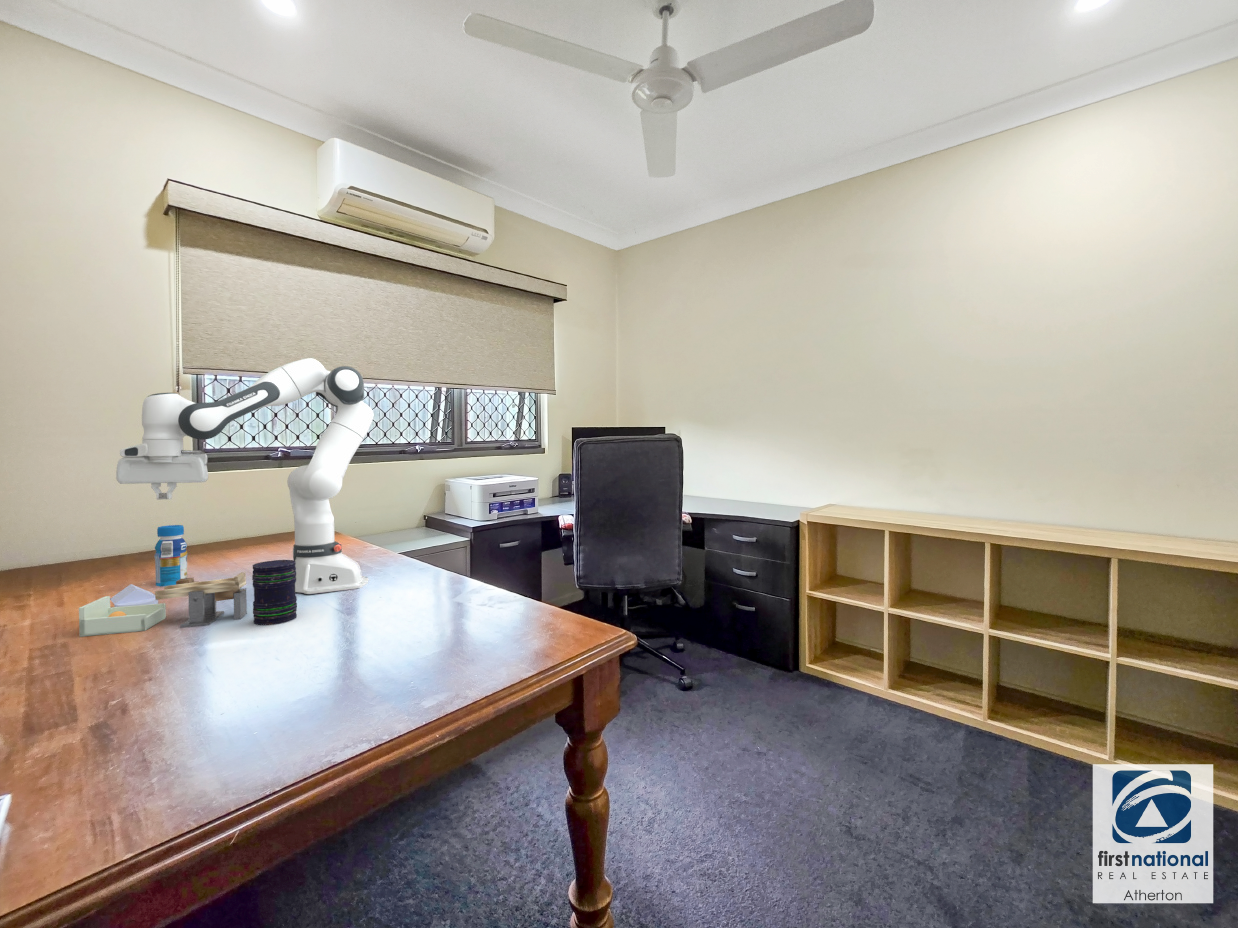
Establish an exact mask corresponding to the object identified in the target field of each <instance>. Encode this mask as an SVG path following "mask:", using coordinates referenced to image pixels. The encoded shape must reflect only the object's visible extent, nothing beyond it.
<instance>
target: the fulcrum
mask: <svg viewBox="0 0 1238 928" xmlns="http://www.w3.org/2000/svg"><path fill="white" fill-rule="evenodd" d="M247 595H248V594H247V588H240V589H239V590H238V591H236V592H235V593H234V599H233V620H234V621H235V620H241V619H243V618H244V617H245V616H246V615H247V614H248V610H247V609H248V607H247V606H248V605H247V604H248V603H247V601H248V600H247ZM187 597H188V619H187V620H186V621H184V622H182V624H180V625H179V626H180V628H181V629H182V628H191V627H201V626H203V627H204V626H210V625H211V624H212V623H213V622H214V621H216V620H217V619H219V618H220V617H222V615H224V614H225V610H220V611H219V610H218V611H217V601H215V593H207V594H204V590H202V591H190V592H188V596H187Z"/></svg>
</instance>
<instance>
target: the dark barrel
mask: <svg viewBox="0 0 1238 928" xmlns="http://www.w3.org/2000/svg"><path fill="white" fill-rule="evenodd" d="M295 565H296V561H294V560H293V559H274V560H268V561H261V562H257V563H254V564H252V576H251V578H252V588H253V599H254V600H253V602H252V607H253V608H252V614H253V624H254V625H255V626H274V625H279V624H285V623H289V622H291V621H293V620H296V619H297V617H298V616H297V611H298V610H297V608H298V602H297V600H298V598H297V596H296V592H295V583H296V566H295Z"/></svg>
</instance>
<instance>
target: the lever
mask: <svg viewBox="0 0 1238 928" xmlns="http://www.w3.org/2000/svg"><path fill="white" fill-rule="evenodd" d="M246 585H247V578H246V572H245V571H242V572H240V573H238V574H237V575H235V576H234V577H229V578H227V577H226V578H220V579H211V580H204V581H203V580H202V581H195V579H194V577H187V578H185V579H180V580H178V581H176V585H170V586H164V589H161V590H160V589H159V590H155V591H154V595H155V599H156V600H158V601H159V600H165V599H175V598H183V597H188V592H190V591H202V590H204V594H207V593H215V601H216V602H219V601H229V600H234V593H235V592H236V591H238V590H239V589H243V587H244V586H246Z"/></svg>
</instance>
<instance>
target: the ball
mask: <svg viewBox="0 0 1238 928" xmlns="http://www.w3.org/2000/svg"><path fill="white" fill-rule="evenodd" d="M115 616H127V615H126V614H125V613H124V612H122V611H116V612H113V613H111V614H110V615H109V616H108V617H115Z"/></svg>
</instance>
